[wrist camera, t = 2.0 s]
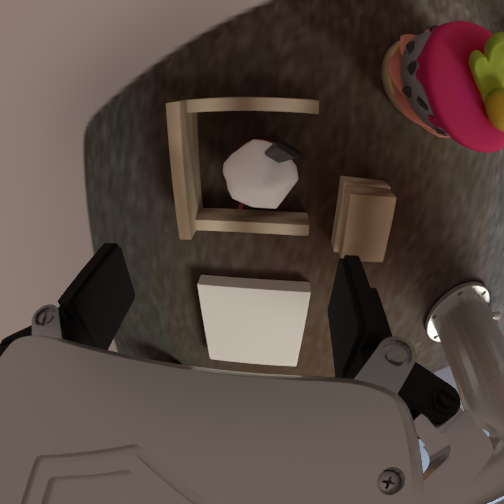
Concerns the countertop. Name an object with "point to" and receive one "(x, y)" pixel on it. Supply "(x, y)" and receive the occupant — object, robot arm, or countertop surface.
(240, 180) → the cocoa
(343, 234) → the offcut upper
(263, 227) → the frame
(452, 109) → the cake
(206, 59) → the countertop surface
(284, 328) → the cutting board
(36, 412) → the robot arm
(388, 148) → the countertop surface
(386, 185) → the offcut lower
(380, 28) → the countertop surface
